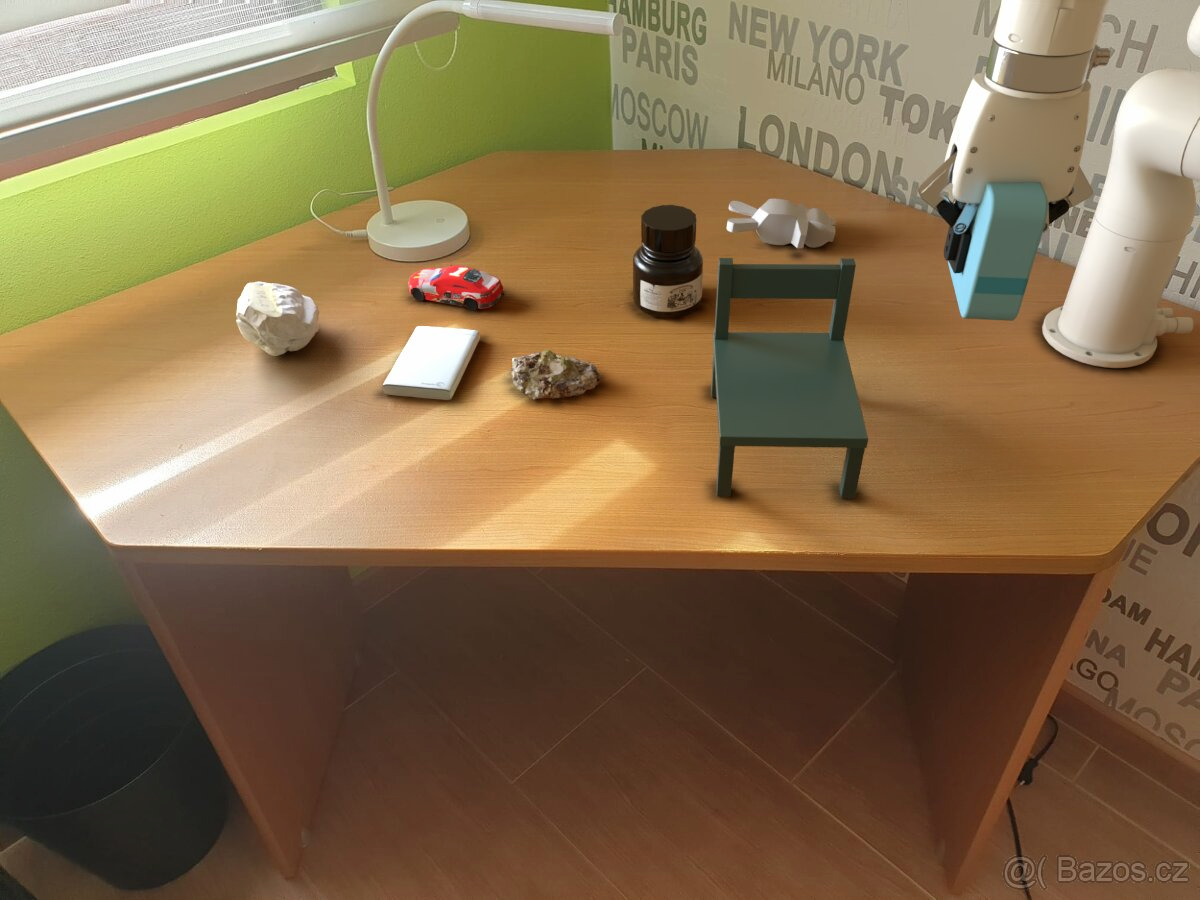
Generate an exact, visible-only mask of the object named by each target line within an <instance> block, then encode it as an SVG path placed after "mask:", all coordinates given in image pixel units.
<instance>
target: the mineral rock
mask: <svg viewBox="0 0 1200 900" xmlns="http://www.w3.org/2000/svg"><path fill="white" fill-rule="evenodd" d="M511 365H512V367H511V368H510V375H511V379H512V382H513V383H512V384H513V386H514V388H515V389H516V390H519V392H520V393H523V394H524V395H526V396H528V397H529V398H530V399H531V400H537V399H546V398H548V399H553V400H554V399H560V398H565V397H568V398H570V397H574V396H575V397H576V396H577V397H578V396H581V395H582V394H585V392H586V391H587V390H588V391H590V390H594V389H595V387H596V386H599V384H600V383H601V380H602V378H600V376H601V375H600V373H599V372H598V369H597V366H596V365H595V364H593V363H591V361H585V360H583V359H578V358H576V357H575V356H566V357H563V356H562V355H561V354H556V353H555V352H553V351H552V350H550V349H545V350H542V351H541V352H534V353H530V354H529V355H523V356H520V357H519V356H516V357H512V358H511Z"/></svg>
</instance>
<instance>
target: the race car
mask: <svg viewBox="0 0 1200 900" xmlns="http://www.w3.org/2000/svg"><path fill="white" fill-rule="evenodd" d="M407 284H408V285H407V286H408V289H409V290H408V291H409V294H410V296H412V297H413V298H414V299H415V300H416V301H419V302H422V301H424V300H426V301H432V302H437V303H442V304H448V305H454V306H458V307H466V308H467V309H468V311H473V312H474V311H476V310H477V309H479V310H483V309H488V308H492V307H494V306H496V305H497V303H498V302H499V301H500V300H501V299H502V297H503V296H504V295H505V293H504V292H505V291H504V286H503V283H502V281H501V279H500V278H499V277H498V276H495V275H493V274H490V273H488V272H485V271H482V270H479V269H476V268H473V267H471V266H470V267H469V266H464V265H453V264H450V265H449V266H447V267H428V268H423V269H420V270H418V271H416V272H414V273H412V274H411V275H410V277H409V279H408V283H407Z"/></svg>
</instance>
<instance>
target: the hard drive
mask: <svg viewBox="0 0 1200 900" xmlns="http://www.w3.org/2000/svg"><path fill="white" fill-rule="evenodd" d="M480 335H481V334H480V331H479V330H477V329H467V328H455V327H454V328H453V327H441V326H428V325H427V326H425V325H418V326H416V327H415V329H414V330H413V332H412V334H411V335H410V337H409V339H408V341H407V342H406V344H405V346H404V348H403V349H402V351H401V353H400V354H399V356H398V358H397V360H396V361H395V363H394V365H393V367H392V368H391V370H390V372H389V373H388V375H387V377H386V378H385V380H384V382H383V384H382V389H383V393H384V394H386V395H390V396H401V397H411V398H420V399H421V398H422V399H433V400H443V401H444V400H445V401H450V400H452V399H453V397H454V394H455V392H456V390H457V388H458V387H459V384H460V382H461V380H462V378H463V376H464V374H465V372H466V369H467V368H468V364H469V363H470V361H471V359H472V357H473V355H474V352H475V350H476V348H477V346H478V344H479V342H480V340H481V336H480Z"/></svg>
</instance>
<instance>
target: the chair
mask: <svg viewBox="0 0 1200 900" xmlns="http://www.w3.org/2000/svg"><path fill="white" fill-rule="evenodd" d="M856 267H857V264H856V261H855V258H853V257H852V258H850V257H849V258H847V257H845V258H844V257H843V258H840V261H839V264H826V263H825V264H817V263H815V264H814V263H813V264H809V263H807V264H805V263H804V264H803V263H801V264H799V263H798V264H797V263H796V264H795V263H793V264H790V263H789V264H788V263H779V264H778V263H734V259H733V257H719V258H718V267H717V284H716V286H717V287H716V301H715V319H714V331H713V334H712V344H713V345H712V347H713V348H712V349H713V351H712V365H711V367H712V368H711V381H710V382H711V384H710V385H711V386H710V397H711V398H716V412H717V426H718V427H717V428H718V458H717V469H716V470H717V471H716V484H715V489H716V497H723V498H724V497H725V498H727V497H731V496H732V485H733V473H734V462H735V461H734V460H735V450H736V447H772V448H773V447H774V448H775V447H777V448H778V447H779V448H831V449H832V448H833V449H835V448H836V449H837V448H838V449H839V448H840V449H841V448H842V449H846V452H845V456H844V461H843V468H842V472H841V478H840V483H839V488H838V490H839V495H840V499H842V500H843V499H844V500H845V499H847V500H849V499H850V500H855V499H856V496H857V489H858V485H859V480H860V475H861V469H862V465H863V461H864V455H865V451H866V449H867V447H868V442H869V435H868V433H867V428H866V423H865V419H864V415H863V411H862V408H861V403H860V400H859V395H858V390H857V388H856V384H855V383H856V382H855V378H854V374H853V371H852V366H851V363H850V358H849V354H848V351H847V346H846V342H845V339H844V338H845V333H846V327H847V322H848V315H849V309H850V303H851V297H852V291H853V285H854V280H855V279H854V278H855V274H856V273H855V272H856ZM735 299H737V300H739V299H741V300H742V299H743V300H744V299H746V300H747V299H748V300H749V299H750V300H752V299H753V300H755V299H756V300H758V299H759V300H761V299H762V300H833V303H832V310H831V316H830V317H831V318H830V323H829V331H828V332H773V331H772V332H769V331H768V332H767V331H765V332H764V331H762V332H760V331H759V332H758V331H757V332H756V331H754V332H753V331H752V332H751V331H729V329H730V316H731V302H732V300H735Z"/></svg>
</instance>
